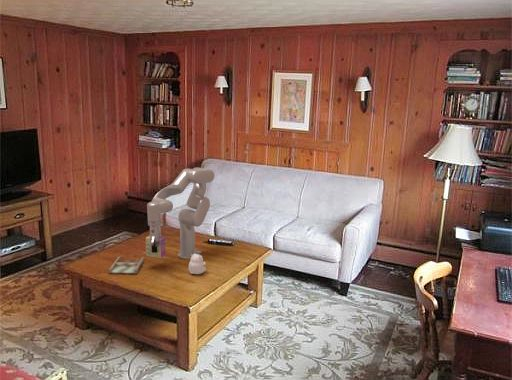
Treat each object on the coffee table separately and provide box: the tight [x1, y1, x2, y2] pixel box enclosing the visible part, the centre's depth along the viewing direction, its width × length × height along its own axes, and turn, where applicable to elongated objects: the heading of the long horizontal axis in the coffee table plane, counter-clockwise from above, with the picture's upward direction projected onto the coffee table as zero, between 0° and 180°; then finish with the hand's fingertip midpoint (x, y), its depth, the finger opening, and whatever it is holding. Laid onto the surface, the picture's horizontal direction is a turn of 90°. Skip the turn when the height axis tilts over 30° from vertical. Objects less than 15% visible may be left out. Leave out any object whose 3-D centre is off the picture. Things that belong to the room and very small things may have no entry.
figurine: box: [188, 253, 207, 275], centre depth 257 cm, size 10×10×12 cm
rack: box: [108, 256, 145, 276], centre depth 262 cm, size 16×20×3 cm
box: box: [145, 235, 167, 259], centre depth 260 cm, size 10×6×12 cm, turn 72°
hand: (155, 249), depth 261 cm, fingers closed on box, 7 cm apart
